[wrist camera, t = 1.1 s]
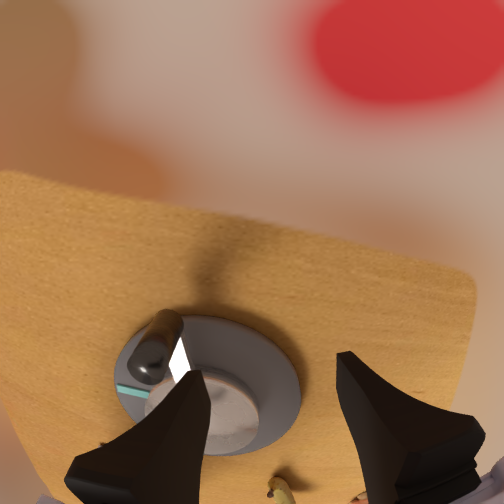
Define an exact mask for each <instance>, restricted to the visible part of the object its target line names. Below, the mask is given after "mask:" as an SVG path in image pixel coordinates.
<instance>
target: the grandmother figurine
mask: <svg viewBox="0 0 504 504" xmlns="http://www.w3.org/2000/svg"><path fill="white" fill-rule="evenodd" d="M357 498H358V499H357V500H353V501H351V502H350V503H349V504H368V498H367V492H364V493H362V494H360V495H358V496H357Z"/></svg>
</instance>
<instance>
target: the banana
mask: <svg viewBox="0 0 504 504" xmlns="http://www.w3.org/2000/svg"><path fill="white" fill-rule="evenodd" d="M268 488H269V492H268V493H267V497H269V498H271V497H273V499H274V501H275V503H276V504H296V502H295V500H294V497H293V495H292V492H291V490H290V488H289V486H288V484H287V483H286V482H285V481H284V480H283V479H281V478H279V477H273V478H271V479H270V480H269V482H268Z"/></svg>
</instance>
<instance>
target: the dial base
mask: <svg viewBox="0 0 504 504" xmlns="http://www.w3.org/2000/svg"><path fill="white" fill-rule="evenodd" d="M181 318H182V319H183V322H184V332H185V336H186V339H187V343H188V346H189V349H190V353H191V356H192V359H193V363H194V365H201V366H208V367H214V368H217V369H221V370H223V371H226V372H228V373H230V374H232V375H234V376H236V377H238V378H239V379H241V380H242V381H243V382H245V383H246V384H247V385H248V386H249V387H250V388H251V390H252V391H253V392H254V394H255V396H256V398H257V401H258V408H259V427H258V432H257V434H256V436H255V438H254V439H253V440H252V441H251V442H250V443H249V444H248V445H246V446H245V447H243V448H241V449H239V450H237V451H234V452H230V453H226V454H216V455H209V454H204V455H209V456H232V455H239V454H245V453H249V452H253V451H256V450H259V449H261V448H264V447H266V446H268V445H270V444H272V443H273V442H275V441H276V440H278V439H279V438H280V437H282V436H283V435H284V434H285V433H286V432H287V431H288V430H289V429H290V428H291V426H292V425H293V423H294V422H295V420H296V418H297V416H298V413H299V410H300V406H301V392H300V386H299V380H298V376H297V373H296V371H295V368H294V366H293V364H292V363H291V361H290V359H289V358H288V357H287V355H286V354H285V353H284V352H283V350H281V349H280V348H279V347H278V346H277V345H276V344H275V343H274V342H273V341H271V340H270V339H269V338H267V337H266V336H264V335H263V334H261V333H259V332H257V331H256V330H254V329H252V328H250V327H247V326H245V325H243V324H240V323H238V322H234V321H231V320H227V319H224V318H218V317H213V316H203V315H182V316H181ZM149 325H150V324H149ZM149 325H147V326H146V327H144V328H143V329H141V330H139V331H138V332H137V333H136V334H135V335H134V336H133V337H132V338H131V339H130V340H129V341H128V343H127V344H126V345H125V347H124V349H123V350H122V352H121V353H120V355H119V357H118V359H117V362H116V366H115V370H114V382H115V388H116V392H117V395H118V397H119V400H120V402H121V404H122V406H123V407H124V409H125V410H126V412H127V413H128V414H129V416H130V417H131V418H132V419H133V420H134V421H135V422H136V423H139V422H140V421H141V420H142V419H144V418H145V417H146V416H145V403H146V400H147V398H148V396H149V393H150V391H151V388H152V386H153V385H146V384H143V383H140V382H139V381H137V380H136V379H134V378H133V377H132V376H131V374H130V373H129V371H128V369H127V362H128V359H129V358H130V356H131V354H132V353H133V351H134V349H135V348H136V346H137V344H138V343H139V341H140V339H141V338H142V336H143V335H144V333H145V331H146V330H147V328H148V326H149ZM168 370H170V366H168V368H167V371H168Z"/></svg>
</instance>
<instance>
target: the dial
mask: <svg viewBox="0 0 504 504" xmlns="http://www.w3.org/2000/svg"><path fill="white" fill-rule="evenodd" d="M168 366H170V370H168V371H167V368H168ZM127 369H128V371H129V373H130V374H131V376H132V377H133V378H134V379H136V380H137V381H139V382H140V383H143V384H146V385H153V386H152V388H151V391H150V393H149V396H148V398H147V400H146V403H145V416H147V415H148V414H149V413H150V412H151V411H152V410H153V409H154V408H155V407H156V406H157V405H158V404H159V403H160V402H161V401H162V400H163V399H164V398H165V397H166V395H167V394H168V393H169V392H170V391H171V390H172V388H173V387H174V386H175V385H176V384H177V382H178V381H179V380H180V379H181V378H182V376H183V375H184V374H185V373H186V372H187V371H188V370H201V372H202V375H203V378H204V381H205V385H206V388H207V391H208V394H209V397H210V400H211V417H210V426H209V431H208V436H207V440H206V445H205V450H204V454H209V455H216V454H226V453H230V452H234V451H237V450H239V449H241V448H243V447H245V446H246V445H248V444H249V443H250V442H251V441H252V440H253V439H254V438H255V436H256V434H257V432H258V427H259V408H258V401H257V398H256V396H255V394H254V392H253V391H252V390H251V388H250V387H249V386H248V385H247V384H246V383H245V382H243V381H242V380H241V379H239V378H238V377H236V376H234V375H232V374H230V373H228V372H226V371H223V370H221V369H217V368H214V367H208V366H201V365H194V363H193V359H192V356H191V353H190V349H189V346H188V343H187V339H186V336H185V332H184V322H183V319H182V318H181V316H180V315H179V314H178V313H176V312H175V311H172V310H168V309H164V310H161V311H159V312H158V313H157V314H156V315H155V317H154V318H153V320H152V322H151V323H150V325H149V326H148V328H147V330H146V331H145V333H144V335H143V336H142V338H141V339H140V341H139V343H138V344H137V346H136V348H135V349H134V351H133V353H132V354H131V356H130V358H129V359H128V362H127Z"/></svg>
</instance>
